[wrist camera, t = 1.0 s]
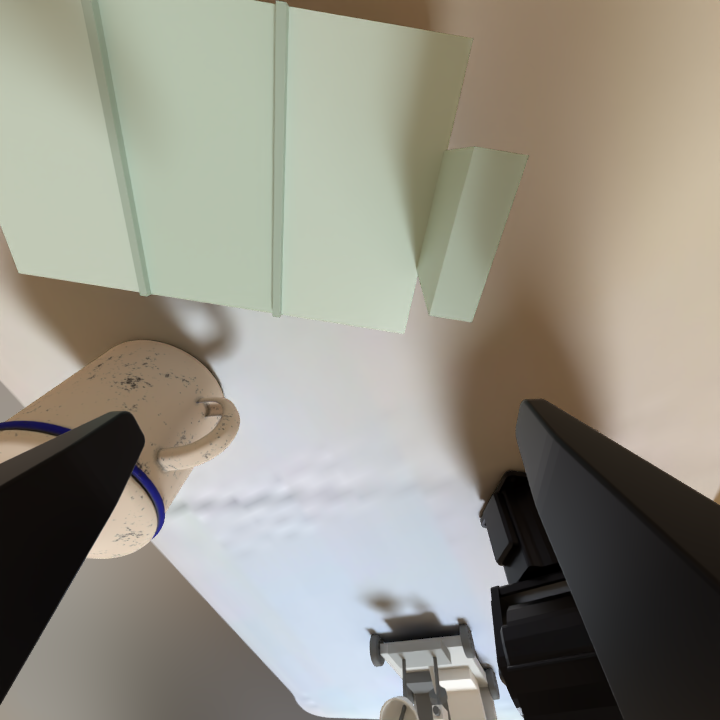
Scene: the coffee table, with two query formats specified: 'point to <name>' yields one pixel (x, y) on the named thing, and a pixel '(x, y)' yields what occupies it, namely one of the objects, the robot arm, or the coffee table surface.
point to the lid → (246, 158)
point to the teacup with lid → (155, 418)
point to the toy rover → (437, 679)
